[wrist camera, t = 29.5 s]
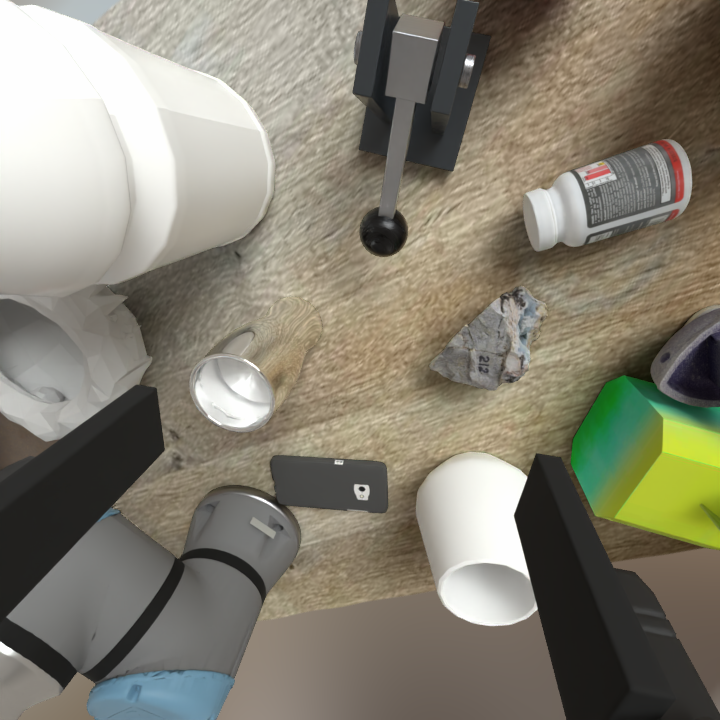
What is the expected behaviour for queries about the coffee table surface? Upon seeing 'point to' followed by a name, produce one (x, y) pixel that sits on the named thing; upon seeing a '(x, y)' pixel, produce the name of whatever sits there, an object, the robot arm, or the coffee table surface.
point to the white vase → (476, 539)
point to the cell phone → (330, 483)
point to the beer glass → (255, 366)
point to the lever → (401, 125)
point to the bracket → (447, 93)
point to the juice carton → (651, 462)
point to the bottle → (115, 158)
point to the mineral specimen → (494, 342)
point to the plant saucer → (18, 442)
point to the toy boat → (692, 361)
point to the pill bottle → (610, 197)
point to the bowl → (66, 358)
